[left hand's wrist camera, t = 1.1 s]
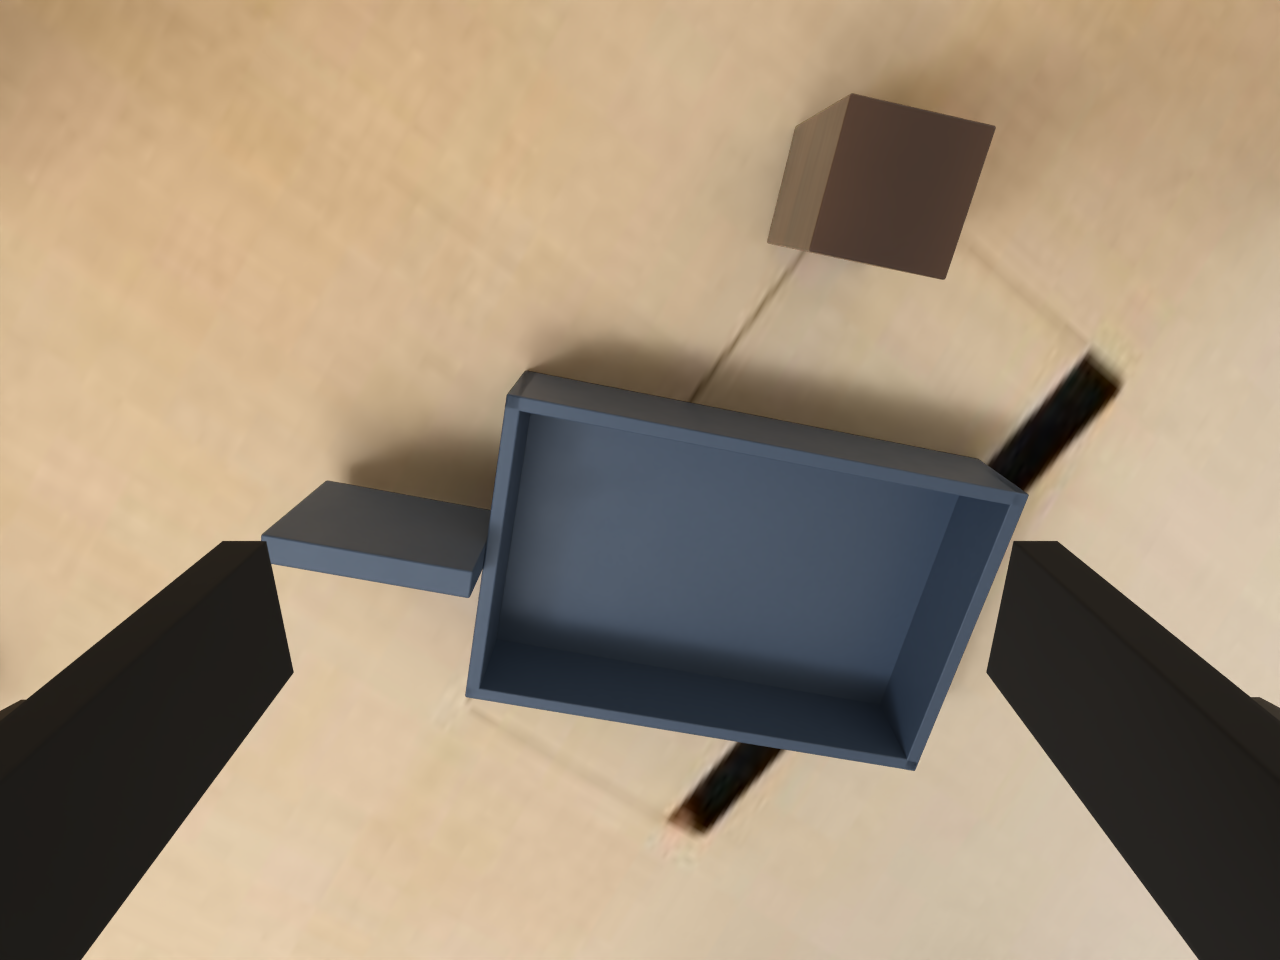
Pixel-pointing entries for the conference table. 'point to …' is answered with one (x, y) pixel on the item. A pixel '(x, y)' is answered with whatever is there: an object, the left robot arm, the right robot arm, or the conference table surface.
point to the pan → (695, 569)
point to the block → (880, 185)
